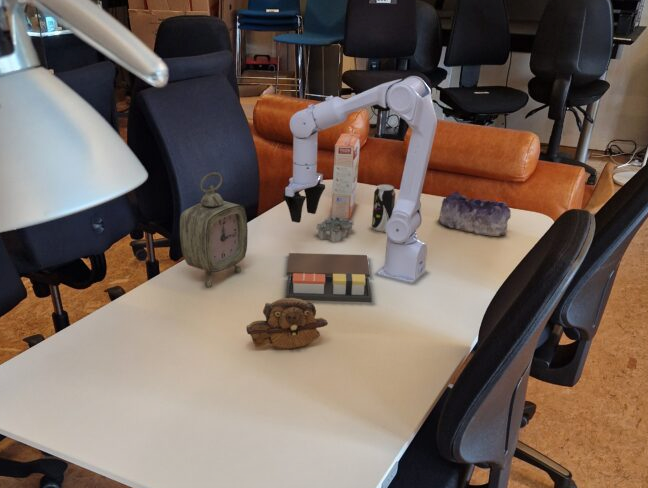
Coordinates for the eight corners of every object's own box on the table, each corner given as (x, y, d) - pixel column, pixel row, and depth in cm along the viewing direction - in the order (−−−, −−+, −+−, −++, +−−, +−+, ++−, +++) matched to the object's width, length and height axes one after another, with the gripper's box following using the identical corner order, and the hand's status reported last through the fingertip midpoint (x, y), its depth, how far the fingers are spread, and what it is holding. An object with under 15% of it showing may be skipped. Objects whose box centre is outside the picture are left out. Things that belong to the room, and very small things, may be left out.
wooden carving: (250, 357, 143) (249, 311, 137) (245, 346, 146) (244, 301, 141) (329, 347, 146) (331, 302, 141) (322, 336, 150) (324, 292, 144)
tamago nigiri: (363, 287, 169) (364, 273, 167) (364, 295, 166) (365, 281, 164) (332, 286, 169) (332, 272, 168) (332, 294, 166) (333, 280, 164)
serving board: (367, 259, 184) (367, 255, 184) (369, 278, 174) (370, 274, 174) (289, 257, 185) (289, 252, 184) (287, 276, 175) (287, 271, 174)
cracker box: (350, 220, 208) (355, 145, 197) (330, 218, 209) (333, 144, 198) (356, 204, 220) (361, 133, 208) (337, 203, 221) (340, 132, 209)
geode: (431, 229, 203) (435, 193, 198) (442, 222, 212) (446, 187, 208) (504, 239, 195) (510, 201, 191) (512, 231, 204) (518, 195, 200)
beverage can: (367, 227, 204) (370, 184, 197) (385, 224, 206) (388, 182, 199) (378, 234, 199) (381, 191, 193) (395, 231, 201) (400, 188, 195)
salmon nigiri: (324, 286, 169) (325, 273, 168) (324, 294, 166) (325, 280, 164) (293, 285, 170) (293, 272, 168) (292, 293, 166) (292, 280, 165)
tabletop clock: (208, 292, 167) (202, 184, 153) (180, 282, 172) (172, 176, 158) (248, 272, 177) (246, 169, 163) (220, 263, 181) (216, 162, 168)
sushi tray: (368, 283, 172) (369, 276, 171) (370, 303, 163) (371, 297, 162) (288, 280, 173) (288, 274, 172) (286, 301, 164) (286, 294, 163)
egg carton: (337, 243, 193) (338, 228, 191) (313, 237, 197) (313, 223, 194) (356, 231, 201) (357, 217, 199) (332, 226, 204) (333, 211, 202)
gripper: (306, 153, 180) (305, 206, 188) (274, 166, 170) (274, 222, 178) (330, 157, 177) (328, 211, 185) (300, 171, 167) (299, 228, 174)
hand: (303, 217), depth 181 cm, fingers open, 7 cm apart
